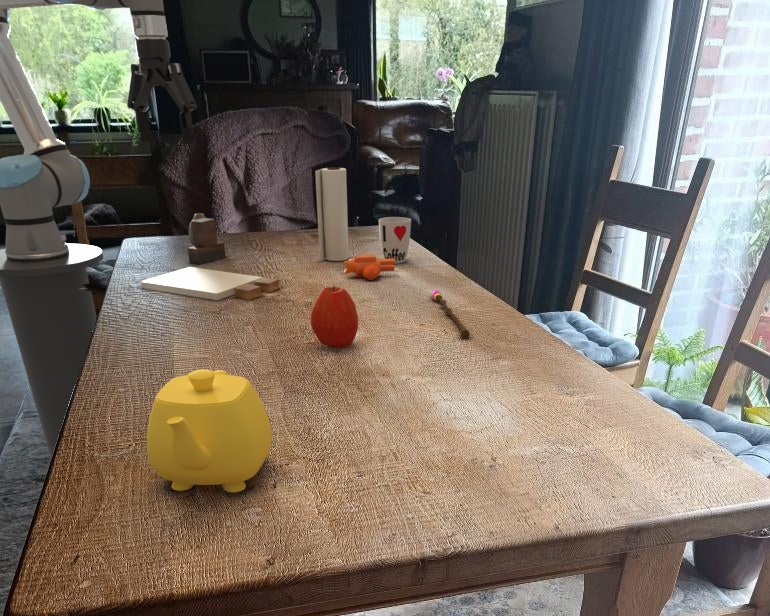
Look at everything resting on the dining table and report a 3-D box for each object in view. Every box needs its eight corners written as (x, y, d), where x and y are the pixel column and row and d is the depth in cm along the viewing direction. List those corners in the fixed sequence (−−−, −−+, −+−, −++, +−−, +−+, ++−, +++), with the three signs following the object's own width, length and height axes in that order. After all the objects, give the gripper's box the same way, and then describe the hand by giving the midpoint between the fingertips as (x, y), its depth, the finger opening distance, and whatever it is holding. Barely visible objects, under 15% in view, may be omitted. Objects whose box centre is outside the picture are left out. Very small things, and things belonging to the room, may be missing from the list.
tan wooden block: (254, 290, 157) (253, 281, 156) (264, 286, 160) (263, 277, 159) (270, 292, 156) (269, 283, 155) (279, 288, 159) (278, 279, 158)
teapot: (285, 443, 92) (277, 348, 86) (249, 526, 75) (235, 416, 69) (183, 440, 93) (166, 346, 86) (124, 522, 76) (98, 413, 70)
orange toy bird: (393, 248, 167) (342, 250, 165) (398, 266, 162) (346, 268, 160) (391, 268, 170) (342, 270, 169) (397, 285, 166) (346, 288, 164)
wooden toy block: (189, 263, 181) (183, 222, 176) (215, 255, 188) (210, 216, 183) (200, 264, 179) (194, 223, 174) (225, 256, 187) (221, 217, 182)
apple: (307, 352, 122) (303, 289, 117) (318, 337, 129) (314, 277, 124) (354, 354, 121) (352, 291, 116) (362, 339, 128) (361, 278, 123)
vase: (206, 251, 193) (201, 216, 188) (185, 249, 195) (180, 215, 190) (221, 246, 198) (217, 212, 193) (201, 244, 200) (196, 211, 196)
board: (142, 288, 160) (140, 281, 159) (190, 273, 172) (189, 266, 171) (217, 300, 151) (216, 293, 150) (263, 283, 163) (262, 277, 162)
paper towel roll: (349, 256, 186) (346, 166, 175) (348, 261, 181) (345, 169, 170) (322, 256, 186) (317, 166, 175) (319, 261, 181) (315, 169, 170)
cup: (376, 264, 178) (375, 222, 173) (382, 257, 185) (381, 216, 180) (408, 265, 177) (408, 223, 172) (412, 258, 184) (413, 217, 179)
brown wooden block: (235, 297, 153) (234, 287, 152) (248, 293, 156) (247, 284, 155) (248, 300, 151) (247, 290, 150) (261, 295, 154) (260, 286, 153)
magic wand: (469, 341, 129) (435, 296, 154) (474, 331, 128) (438, 287, 153) (458, 338, 128) (425, 293, 153) (463, 328, 127) (429, 284, 152)
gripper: (100, 39, 165) (118, 142, 176) (181, 37, 155) (195, 145, 166) (124, 40, 171) (141, 139, 182) (204, 38, 160) (216, 143, 172)
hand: (167, 142), depth 174 cm, fingers open, 13 cm apart
